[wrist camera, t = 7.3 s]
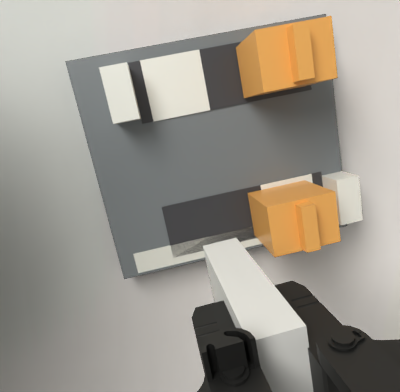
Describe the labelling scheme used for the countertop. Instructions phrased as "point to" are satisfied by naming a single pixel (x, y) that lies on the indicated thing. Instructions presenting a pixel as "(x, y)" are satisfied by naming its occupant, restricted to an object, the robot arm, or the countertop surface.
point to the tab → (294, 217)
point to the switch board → (199, 146)
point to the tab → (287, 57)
